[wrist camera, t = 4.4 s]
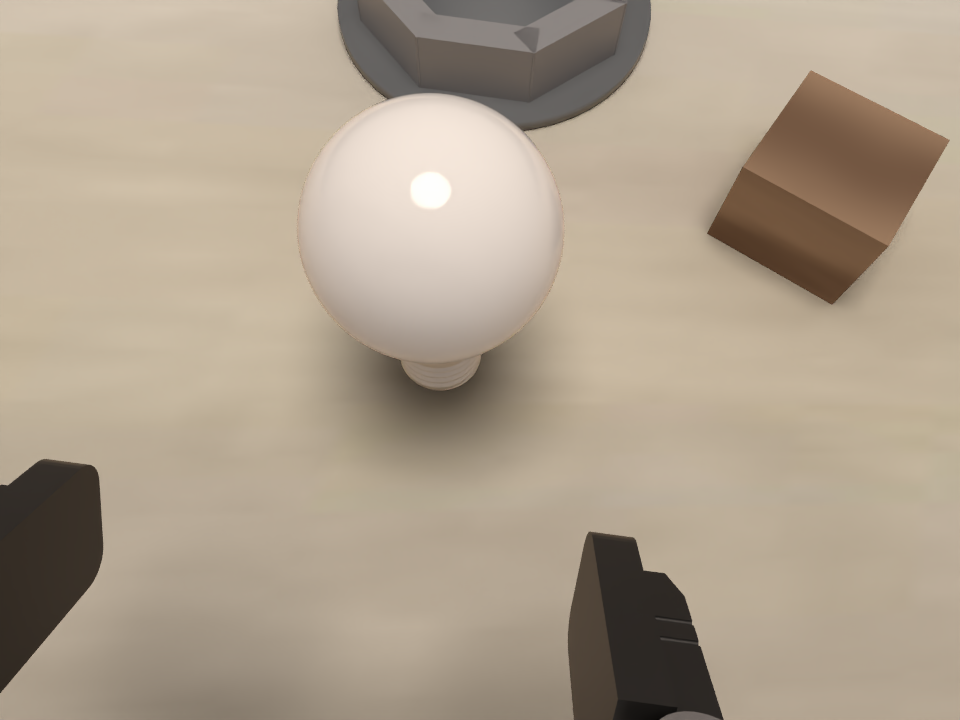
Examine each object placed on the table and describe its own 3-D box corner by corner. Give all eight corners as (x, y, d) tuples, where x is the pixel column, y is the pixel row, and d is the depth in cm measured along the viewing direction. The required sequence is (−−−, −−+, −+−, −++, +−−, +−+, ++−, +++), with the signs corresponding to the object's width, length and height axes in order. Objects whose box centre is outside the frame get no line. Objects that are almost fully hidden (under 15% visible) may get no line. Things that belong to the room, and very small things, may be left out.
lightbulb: (432, 246, 27) (413, -14, 17) (573, 350, 26) (643, 132, 16) (306, 370, 25) (202, 159, 15) (451, 491, 24) (441, 346, 14)
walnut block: (830, 306, 27) (888, 246, 23) (706, 235, 28) (742, 167, 24) (887, 210, 28) (949, 139, 25) (767, 147, 30) (810, 70, 26)
